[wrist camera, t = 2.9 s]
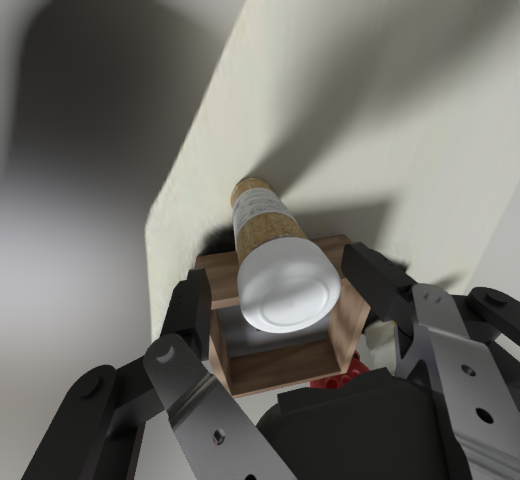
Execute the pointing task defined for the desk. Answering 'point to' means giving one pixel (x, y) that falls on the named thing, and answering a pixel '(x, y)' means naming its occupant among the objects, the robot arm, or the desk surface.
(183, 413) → the robot arm
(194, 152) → the desk surface
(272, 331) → the sprinkles bottle
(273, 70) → the desk surface
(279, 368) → the wooden box
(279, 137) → the desk surface
